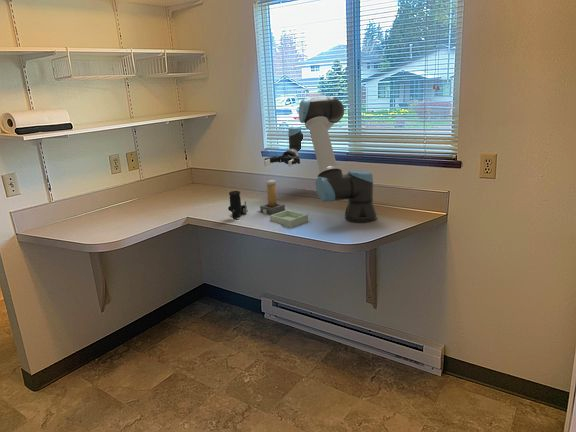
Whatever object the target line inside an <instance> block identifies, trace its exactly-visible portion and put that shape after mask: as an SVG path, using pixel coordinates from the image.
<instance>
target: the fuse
mask: <svg viewBox="0 0 576 432" xmlns="http://www.w3.org/2000/svg"><path fill="white" fill-rule="evenodd" d="M276 183H277V182H276V180H275V179H269V180H266V191H267V204H268V207H271V208H273V207H276V206H277V203H278V202H277V189H276V187H277V186H276Z"/></svg>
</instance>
